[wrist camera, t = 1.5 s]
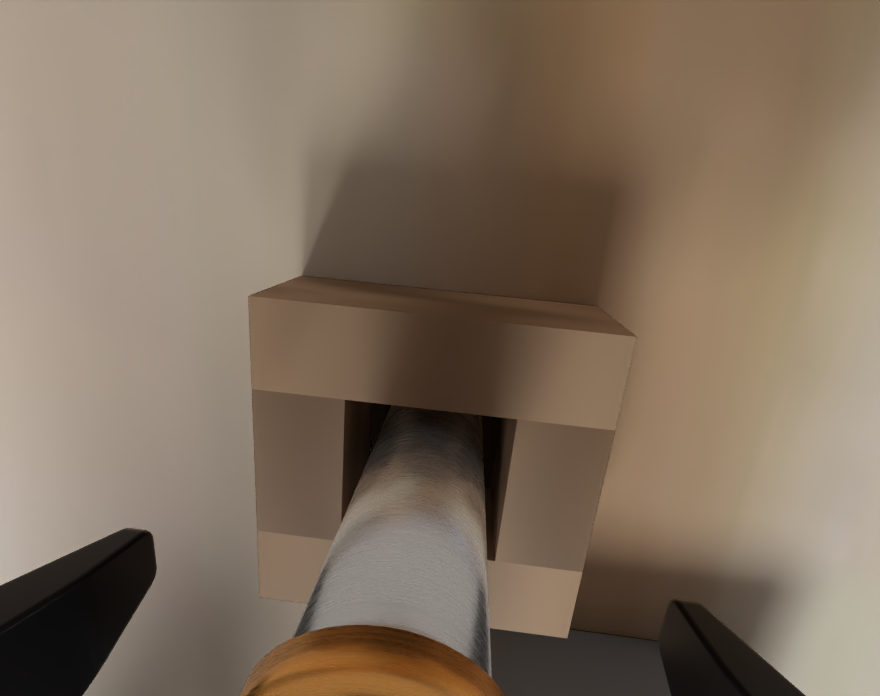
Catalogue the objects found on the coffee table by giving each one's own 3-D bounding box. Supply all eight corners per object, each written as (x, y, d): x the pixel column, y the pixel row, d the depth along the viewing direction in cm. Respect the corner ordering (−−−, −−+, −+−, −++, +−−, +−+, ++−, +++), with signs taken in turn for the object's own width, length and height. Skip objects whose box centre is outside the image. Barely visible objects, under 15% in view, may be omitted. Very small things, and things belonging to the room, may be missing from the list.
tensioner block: (302, 521, 15) (259, 597, 12) (301, 275, 12) (247, 296, 9) (548, 552, 14) (567, 638, 11) (597, 306, 12) (637, 337, 9)
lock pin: (374, 468, 14) (212, 890, 5) (380, 364, 13) (189, 677, 4) (485, 481, 14) (503, 938, 5) (499, 377, 13) (553, 729, 4)
